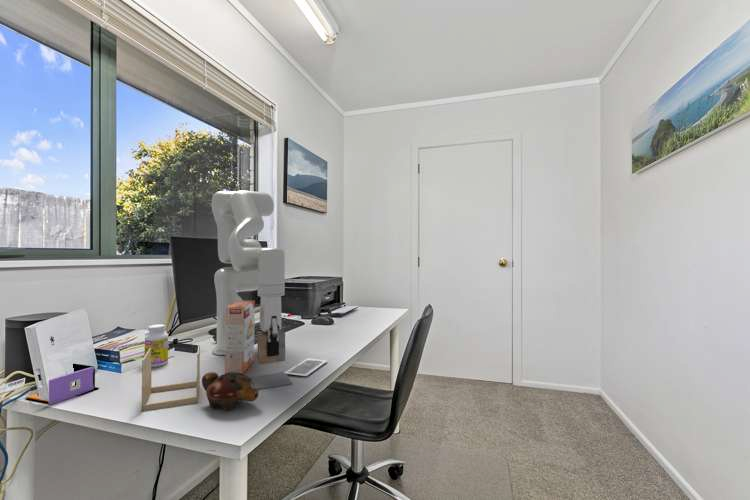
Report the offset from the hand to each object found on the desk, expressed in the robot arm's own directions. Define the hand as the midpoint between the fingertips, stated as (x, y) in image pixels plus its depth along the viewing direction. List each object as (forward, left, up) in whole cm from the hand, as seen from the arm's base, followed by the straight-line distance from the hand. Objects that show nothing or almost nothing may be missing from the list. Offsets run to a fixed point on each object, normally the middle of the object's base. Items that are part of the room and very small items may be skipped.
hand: (271, 352), depth 100 cm
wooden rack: (+1, -25, -8) cm, 26 cm away
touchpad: (-6, +12, -9) cm, 16 cm away
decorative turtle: (+12, -12, -9) cm, 19 cm away
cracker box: (-16, -7, -9) cm, 20 cm away
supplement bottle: (-31, -32, -9) cm, 45 cm away
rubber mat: (0, 0, -8) cm, 8 cm away
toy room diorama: (-13, -51, -9) cm, 53 cm away
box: (0, 0, -2) cm, 2 cm away
